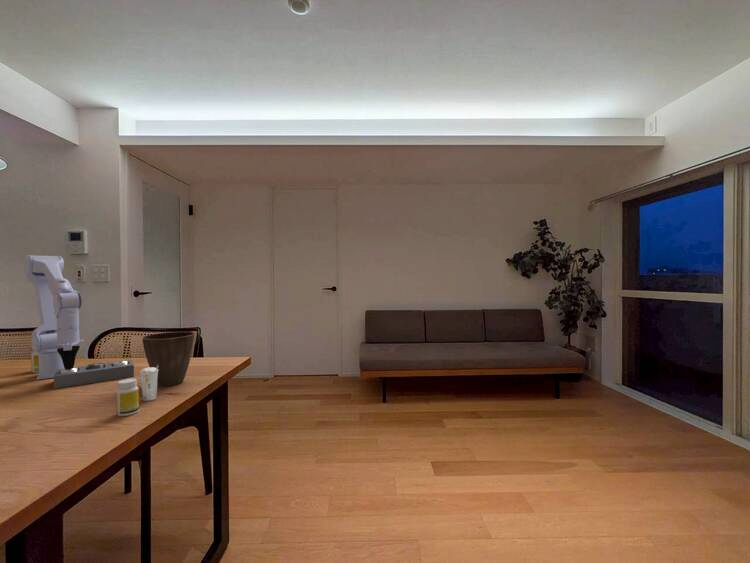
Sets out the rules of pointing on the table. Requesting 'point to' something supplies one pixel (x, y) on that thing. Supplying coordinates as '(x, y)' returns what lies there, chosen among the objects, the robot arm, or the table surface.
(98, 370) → the control panel
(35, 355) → the supplement bottle
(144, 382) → the milkshake
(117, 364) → the knob
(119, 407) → the supplement bottle
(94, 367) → the knob middle
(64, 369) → the knob
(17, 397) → the table surface
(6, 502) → the table surface
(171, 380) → the plant pot
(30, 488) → the table surface
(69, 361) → the robot arm
